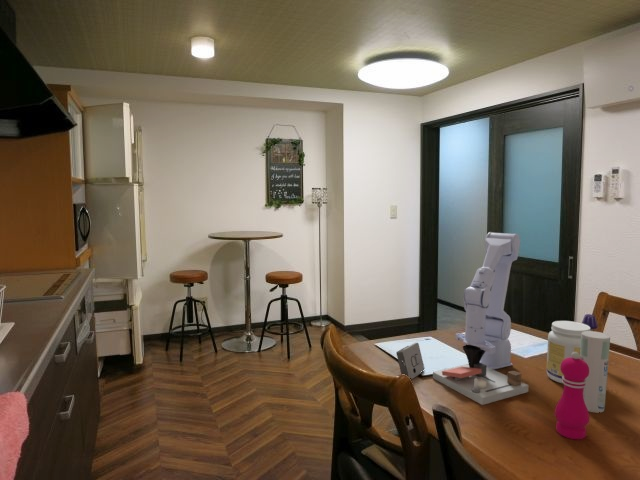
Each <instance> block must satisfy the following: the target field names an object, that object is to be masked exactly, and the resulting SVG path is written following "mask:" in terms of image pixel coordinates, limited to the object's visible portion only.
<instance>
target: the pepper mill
mask: <svg viewBox="0 0 640 480" xmlns="http://www.w3.org/2000/svg"><path fill="white" fill-rule="evenodd" d="M579 358H580V355H579V353H578V352H573V353H572V354H571V357H569V358H566V359H564V360H563V361H562V363H561V366H560V370H561V372H562V374H563V375H564V376H562V383H561V384H562V385H563V390H562V393H561V397H560V399H559V400H558V402H557V403H556V406H555V409H554V416H555V418H556V419H557V421H556V423H555V424H556V427H555V429H556V432H557V433H558V434H559V435H560V436H563V437H565V438H567V439H571V440H583V439H584V438H586V436H587V429H586V426H587V425H588V424H589V422H590V413H589V411H588V409H587V407H586V405H585V402H584V398H583V390H584V387H586V380H585V378H587V377H588V375H589V367H588V365H587V363H586V362H585V361H583V360H582V359H579Z"/></svg>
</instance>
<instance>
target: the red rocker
mask: <svg viewBox="0 0 640 480" xmlns="http://www.w3.org/2000/svg"><path fill="white" fill-rule="evenodd" d="M480 373H482V370H481V369H478V368H469V367H458V368H454V369H449V370H445V371H442V375H444V376H451V377H458V378H463V377H468V376H472V375H476V374H480Z"/></svg>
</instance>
